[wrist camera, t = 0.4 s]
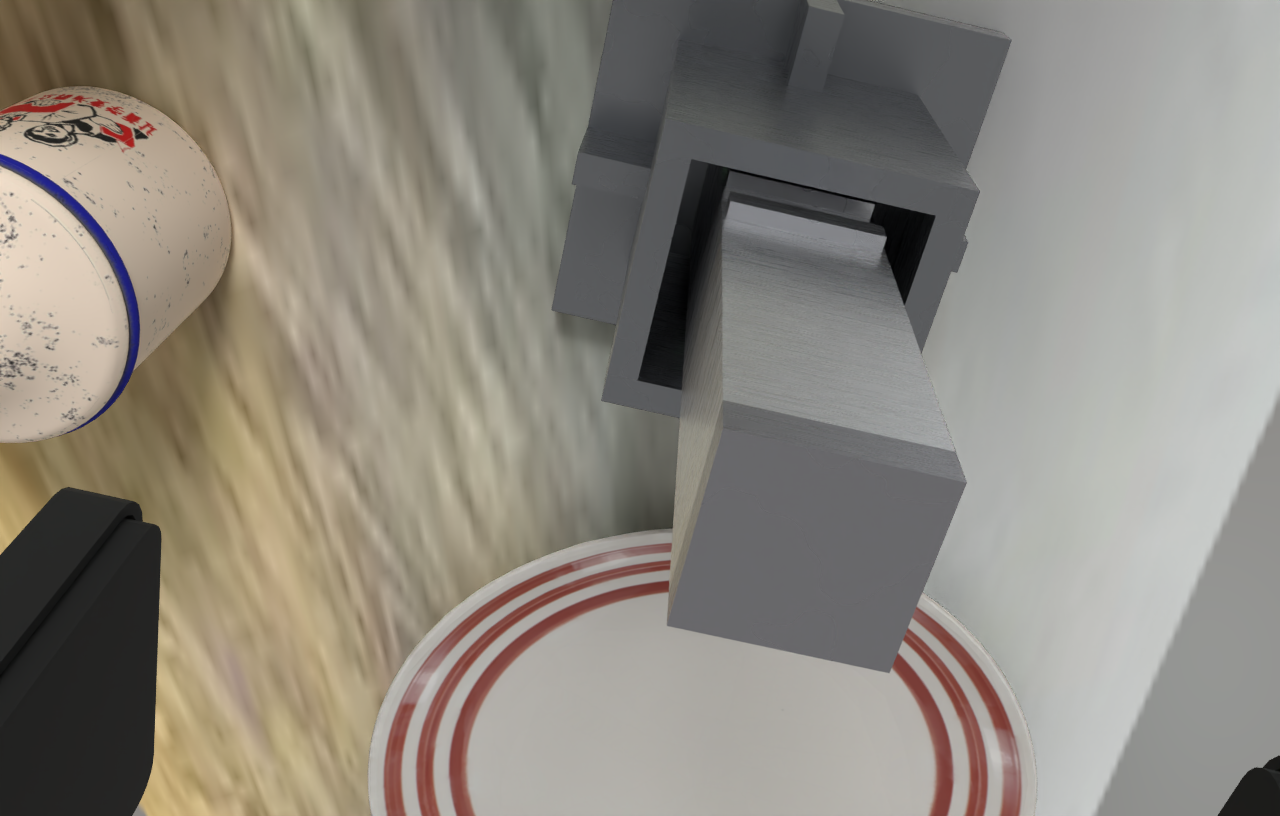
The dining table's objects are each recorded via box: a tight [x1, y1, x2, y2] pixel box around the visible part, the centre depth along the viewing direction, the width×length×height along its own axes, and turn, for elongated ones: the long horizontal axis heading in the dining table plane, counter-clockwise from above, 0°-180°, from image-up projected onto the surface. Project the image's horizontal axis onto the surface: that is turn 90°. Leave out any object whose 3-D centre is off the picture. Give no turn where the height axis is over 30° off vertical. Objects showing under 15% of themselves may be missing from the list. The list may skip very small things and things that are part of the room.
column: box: [667, 163, 967, 673], centre depth 29 cm, size 5×4×21 cm
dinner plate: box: [368, 528, 1037, 816], centre depth 51 cm, size 28×27×3 cm
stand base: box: [552, 0, 1011, 418], centre depth 35 cm, size 12×12×11 cm
